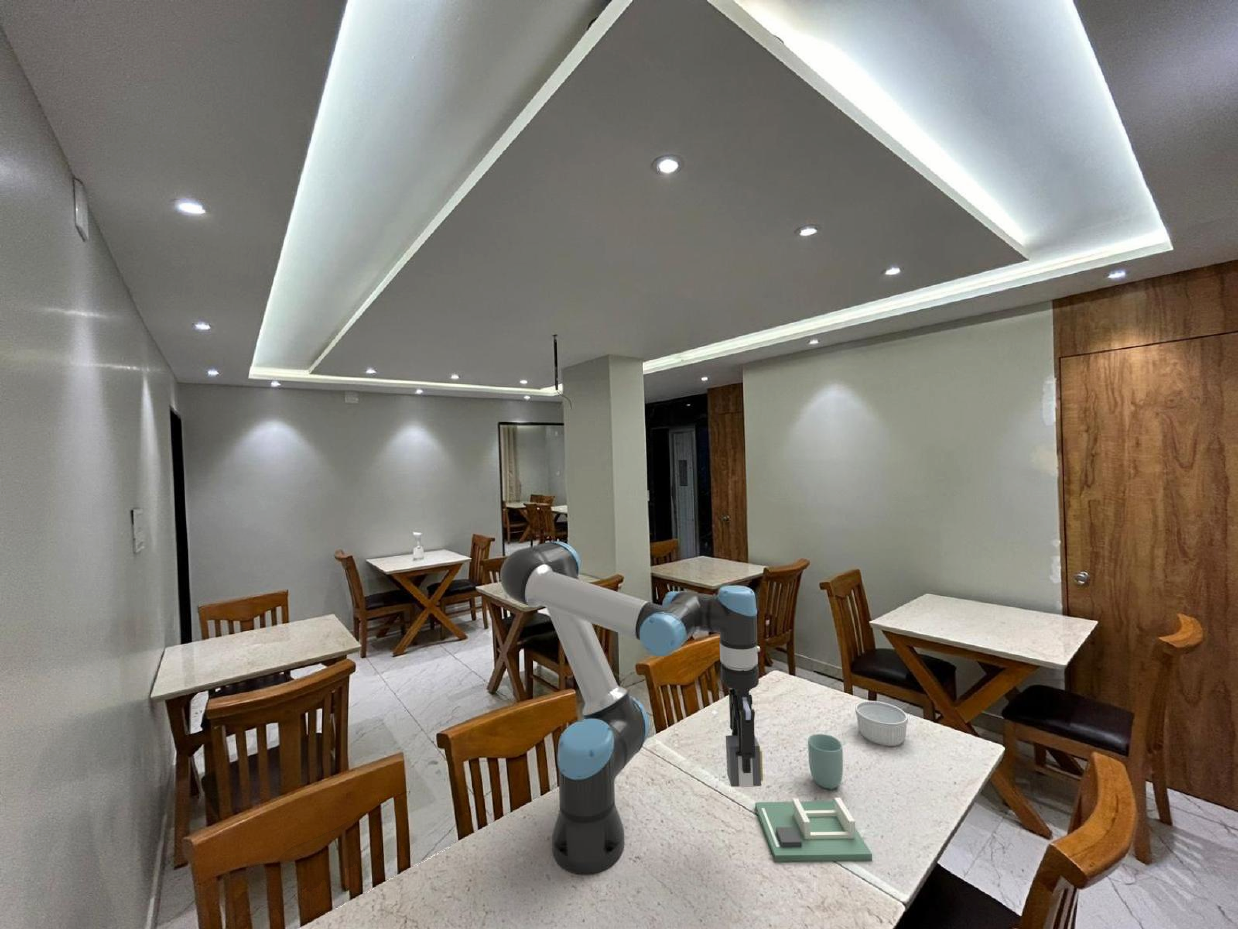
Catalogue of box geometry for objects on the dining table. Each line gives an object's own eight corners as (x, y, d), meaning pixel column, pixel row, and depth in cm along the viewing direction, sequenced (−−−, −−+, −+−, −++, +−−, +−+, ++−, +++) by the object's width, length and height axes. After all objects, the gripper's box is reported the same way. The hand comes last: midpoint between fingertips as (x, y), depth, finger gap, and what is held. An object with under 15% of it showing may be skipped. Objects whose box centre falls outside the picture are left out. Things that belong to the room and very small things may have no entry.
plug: (731, 786, 96) (729, 746, 96) (727, 774, 100) (725, 735, 100) (764, 786, 96) (762, 746, 96) (758, 773, 100) (757, 734, 100)
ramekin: (860, 719, 146) (859, 696, 146) (910, 732, 138) (909, 707, 138) (852, 740, 135) (851, 715, 135) (906, 755, 127) (905, 729, 127)
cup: (847, 795, 112) (846, 753, 112) (812, 792, 114) (811, 750, 114) (839, 774, 120) (837, 734, 120) (806, 771, 122) (805, 732, 122)
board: (775, 861, 94) (774, 837, 94) (755, 807, 109) (754, 787, 109) (872, 860, 94) (871, 836, 94) (838, 806, 109) (837, 785, 109)
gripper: (769, 682, 89) (774, 807, 89) (747, 647, 106) (751, 753, 106) (729, 682, 89) (733, 808, 89) (713, 648, 106) (717, 753, 106)
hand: (743, 778), depth 98 cm, fingers closed on plug, 4 cm apart
